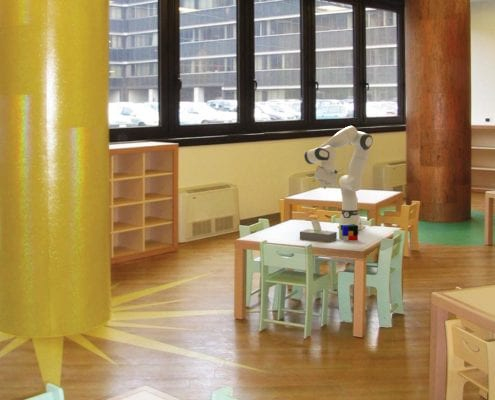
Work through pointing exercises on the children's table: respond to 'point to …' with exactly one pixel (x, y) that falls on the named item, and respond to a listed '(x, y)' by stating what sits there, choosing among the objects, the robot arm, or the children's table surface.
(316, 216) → the lever
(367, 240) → the children's table surface
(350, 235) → the puzzle toy
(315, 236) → the switch box
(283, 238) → the children's table surface
